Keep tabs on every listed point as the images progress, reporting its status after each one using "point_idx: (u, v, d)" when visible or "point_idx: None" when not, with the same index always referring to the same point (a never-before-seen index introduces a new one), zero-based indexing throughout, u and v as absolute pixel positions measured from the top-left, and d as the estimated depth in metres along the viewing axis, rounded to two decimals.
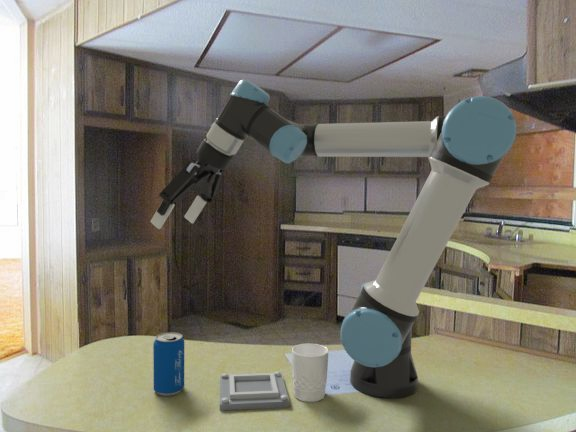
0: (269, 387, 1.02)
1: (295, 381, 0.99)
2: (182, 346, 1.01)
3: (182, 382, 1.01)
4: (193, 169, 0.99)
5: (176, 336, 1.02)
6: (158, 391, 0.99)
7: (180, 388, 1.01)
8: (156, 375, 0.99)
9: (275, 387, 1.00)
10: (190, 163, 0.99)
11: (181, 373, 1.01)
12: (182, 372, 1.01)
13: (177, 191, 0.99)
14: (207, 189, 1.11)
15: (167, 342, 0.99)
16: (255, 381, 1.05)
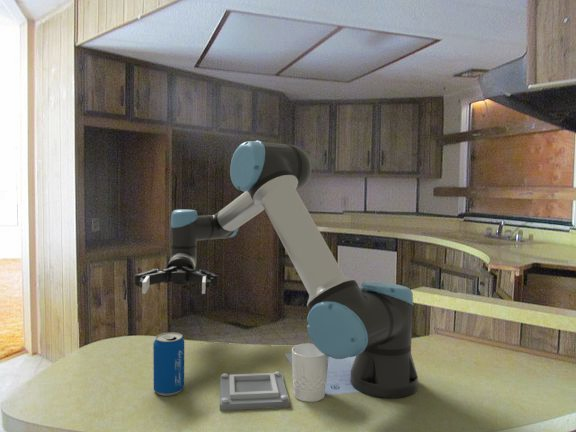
0: (269, 387, 1.02)
1: (295, 381, 0.99)
2: (182, 346, 1.01)
3: (182, 382, 1.01)
4: None
5: (176, 336, 1.02)
6: (158, 391, 0.99)
7: (180, 388, 1.01)
8: (156, 375, 0.99)
9: (275, 387, 1.00)
10: None
11: (181, 373, 1.01)
12: (182, 372, 1.01)
13: (143, 273, 1.18)
14: (195, 274, 1.20)
15: (167, 342, 0.99)
16: (255, 381, 1.05)
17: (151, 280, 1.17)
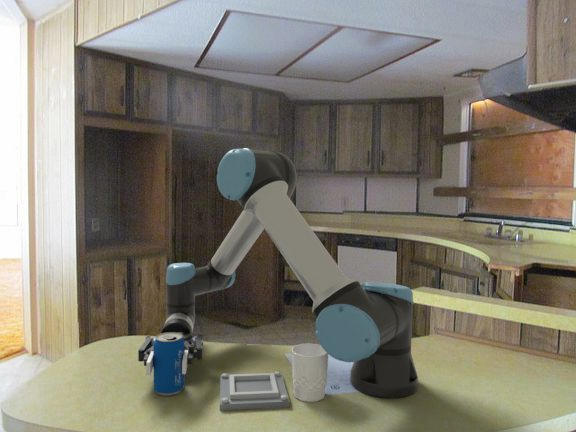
0: (269, 387, 1.02)
1: (295, 381, 0.99)
2: (182, 346, 1.01)
3: (182, 382, 1.01)
4: None
5: (176, 336, 1.02)
6: (158, 391, 0.99)
7: (180, 388, 1.01)
8: (156, 374, 0.99)
9: (275, 387, 1.00)
10: None
11: (181, 373, 1.01)
12: None
13: (143, 345, 1.06)
14: None
15: (167, 342, 0.99)
16: (255, 381, 1.05)
17: None
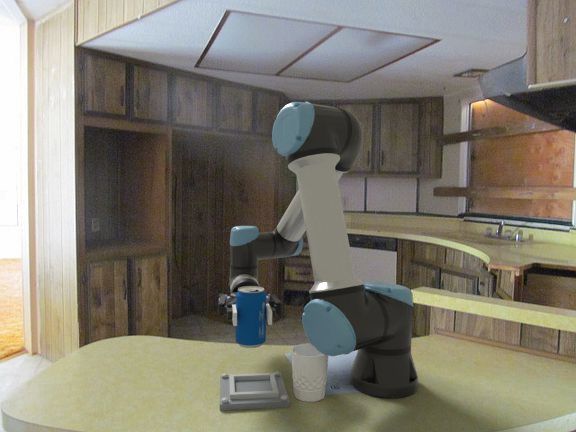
0: (269, 387, 1.02)
1: (295, 381, 0.99)
2: (265, 298, 0.99)
3: (265, 335, 1.00)
4: (219, 296, 1.10)
5: (257, 289, 1.01)
6: (242, 343, 0.98)
7: (263, 341, 0.99)
8: (240, 327, 0.98)
9: (275, 387, 1.00)
10: None
11: (264, 325, 0.99)
12: (265, 325, 1.00)
13: (221, 300, 1.05)
14: None
15: (252, 293, 0.97)
16: (255, 381, 1.05)
17: None
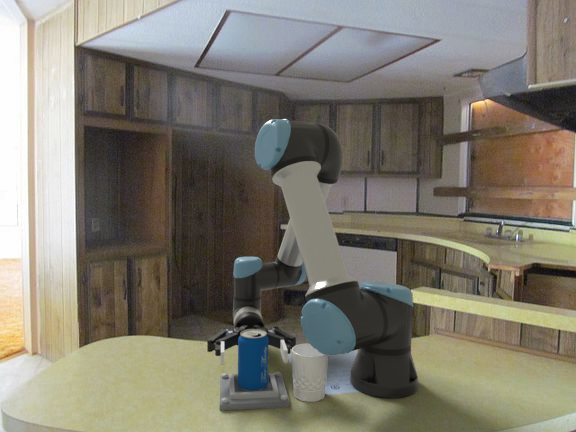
0: (269, 387, 1.02)
1: (295, 381, 0.99)
2: (267, 343, 1.00)
3: (267, 379, 1.01)
4: (221, 330, 1.12)
5: (260, 333, 1.02)
6: (244, 388, 0.99)
7: (265, 385, 1.00)
8: (242, 371, 0.99)
9: (275, 387, 1.00)
10: None
11: (266, 370, 1.00)
12: (267, 369, 1.00)
13: (214, 336, 1.06)
14: (270, 336, 1.08)
15: (254, 338, 0.98)
16: None
17: (225, 345, 1.05)
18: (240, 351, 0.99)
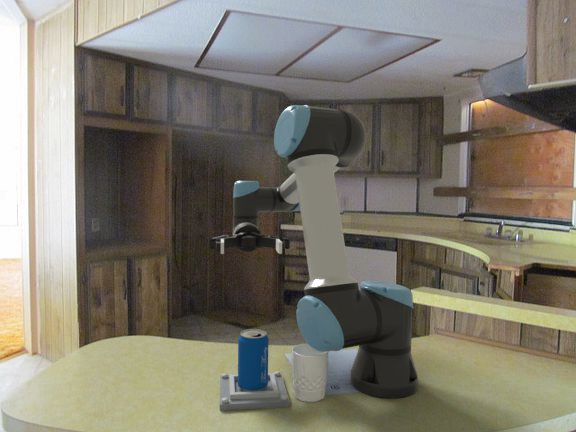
0: (269, 387, 1.02)
1: (295, 381, 0.99)
2: (267, 343, 1.00)
3: (267, 379, 1.01)
4: None
5: (260, 333, 1.02)
6: (244, 388, 0.99)
7: (265, 385, 1.00)
8: (242, 371, 0.99)
9: (275, 387, 1.00)
10: None
11: (266, 370, 1.00)
12: (267, 369, 1.00)
13: (215, 237, 1.19)
14: (267, 238, 1.21)
15: (254, 338, 0.98)
16: None
17: (224, 244, 1.17)
18: (240, 351, 0.99)
